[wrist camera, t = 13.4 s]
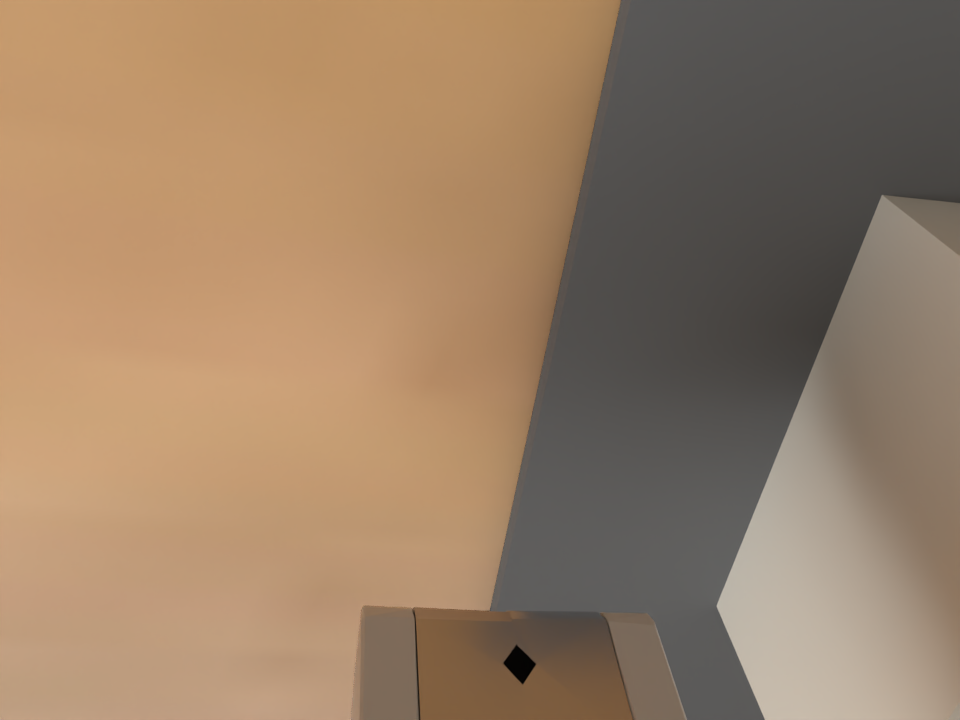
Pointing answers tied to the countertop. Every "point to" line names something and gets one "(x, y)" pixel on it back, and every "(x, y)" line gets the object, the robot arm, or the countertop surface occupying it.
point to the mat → (712, 294)
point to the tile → (866, 498)
